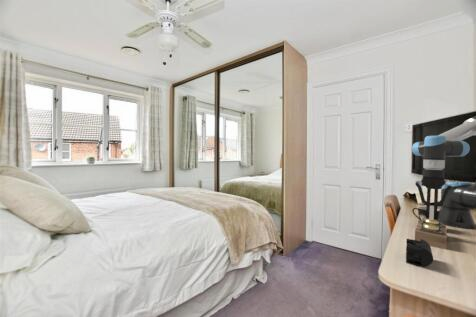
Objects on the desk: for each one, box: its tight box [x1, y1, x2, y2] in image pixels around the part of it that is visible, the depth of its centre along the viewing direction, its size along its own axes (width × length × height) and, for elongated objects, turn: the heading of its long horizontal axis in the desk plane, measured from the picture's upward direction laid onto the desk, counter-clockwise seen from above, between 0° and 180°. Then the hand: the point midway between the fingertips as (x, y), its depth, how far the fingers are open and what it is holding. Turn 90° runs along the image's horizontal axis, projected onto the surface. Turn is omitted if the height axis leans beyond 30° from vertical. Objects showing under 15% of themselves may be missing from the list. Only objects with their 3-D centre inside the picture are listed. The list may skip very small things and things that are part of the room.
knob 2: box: [423, 224, 439, 232], centre depth 96 cm, size 5×5×2 cm
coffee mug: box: [412, 206, 440, 221], centre depth 117 cm, size 12×9×10 cm
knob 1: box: [425, 218, 439, 226], centre depth 104 cm, size 5×5×2 cm
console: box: [414, 219, 448, 250], centre depth 100 cm, size 20×10×6 cm, turn 138°
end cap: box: [405, 238, 434, 268], centre depth 80 cm, size 10×7×7 cm
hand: (431, 219), depth 104 cm, fingers closed
